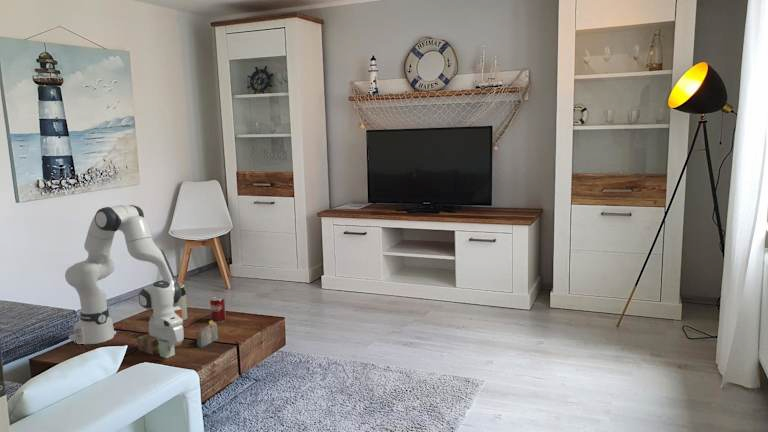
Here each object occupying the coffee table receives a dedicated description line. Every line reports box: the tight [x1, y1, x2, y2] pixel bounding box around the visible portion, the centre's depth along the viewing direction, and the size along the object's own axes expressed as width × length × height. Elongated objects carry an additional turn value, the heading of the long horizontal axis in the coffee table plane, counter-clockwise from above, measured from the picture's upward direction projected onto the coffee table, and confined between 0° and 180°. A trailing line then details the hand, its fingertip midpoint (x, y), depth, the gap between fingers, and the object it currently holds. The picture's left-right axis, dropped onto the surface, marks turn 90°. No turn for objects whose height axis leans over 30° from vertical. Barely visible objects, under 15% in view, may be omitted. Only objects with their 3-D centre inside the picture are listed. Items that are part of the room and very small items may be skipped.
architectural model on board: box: [195, 319, 219, 348], centre depth 272 cm, size 11×3×10 cm, turn 157°
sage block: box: [159, 340, 176, 359], centre depth 258 cm, size 4×4×7 cm
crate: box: [136, 333, 183, 356], centre depth 268 cm, size 11×15×6 cm
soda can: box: [209, 296, 227, 324], centre depth 302 cm, size 7×7×12 cm
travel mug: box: [173, 283, 188, 322], centre depth 305 cm, size 8×8×18 cm
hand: (166, 348), depth 258 cm, fingers open, 5 cm apart
